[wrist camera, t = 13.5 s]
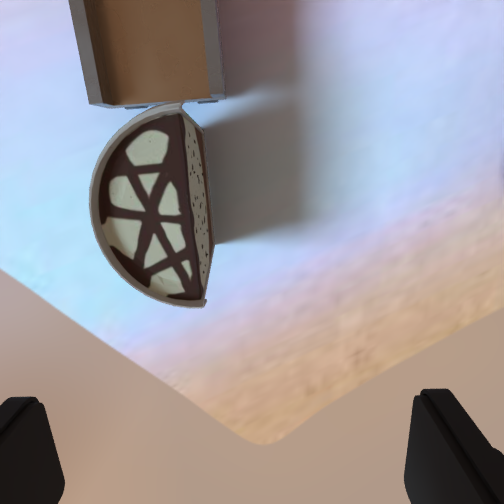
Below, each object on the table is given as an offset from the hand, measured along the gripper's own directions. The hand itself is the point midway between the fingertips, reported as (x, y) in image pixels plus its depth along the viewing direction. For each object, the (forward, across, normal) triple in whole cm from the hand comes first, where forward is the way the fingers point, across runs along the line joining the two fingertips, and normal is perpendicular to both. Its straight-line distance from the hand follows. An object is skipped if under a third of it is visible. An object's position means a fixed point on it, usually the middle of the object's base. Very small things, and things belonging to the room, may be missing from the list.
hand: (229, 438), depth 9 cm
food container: (+22, +6, -3) cm, 23 cm away
